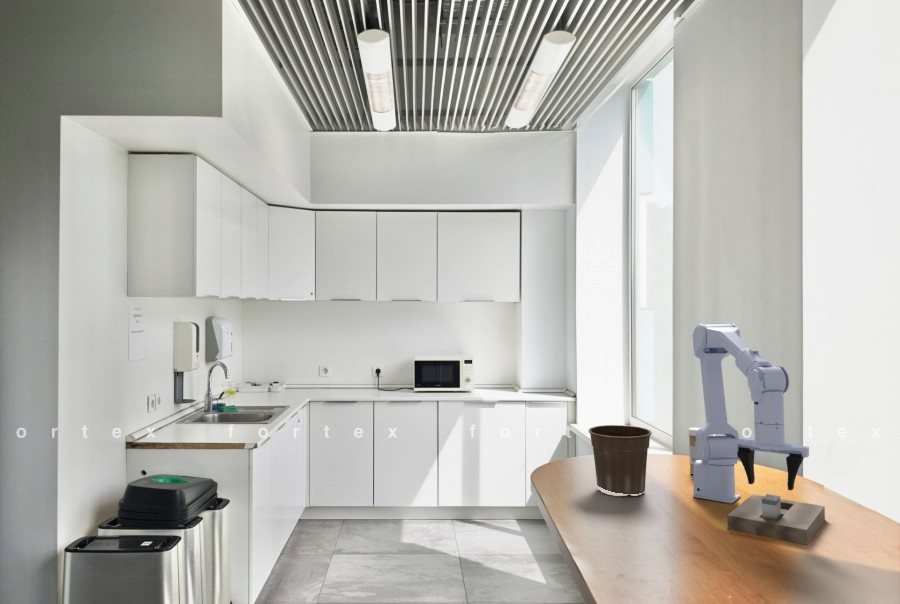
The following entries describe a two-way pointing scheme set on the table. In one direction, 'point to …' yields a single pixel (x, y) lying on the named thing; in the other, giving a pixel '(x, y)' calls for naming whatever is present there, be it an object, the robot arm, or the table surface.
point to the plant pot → (620, 457)
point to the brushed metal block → (771, 507)
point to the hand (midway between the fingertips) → (770, 486)
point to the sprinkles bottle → (692, 448)
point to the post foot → (792, 527)
